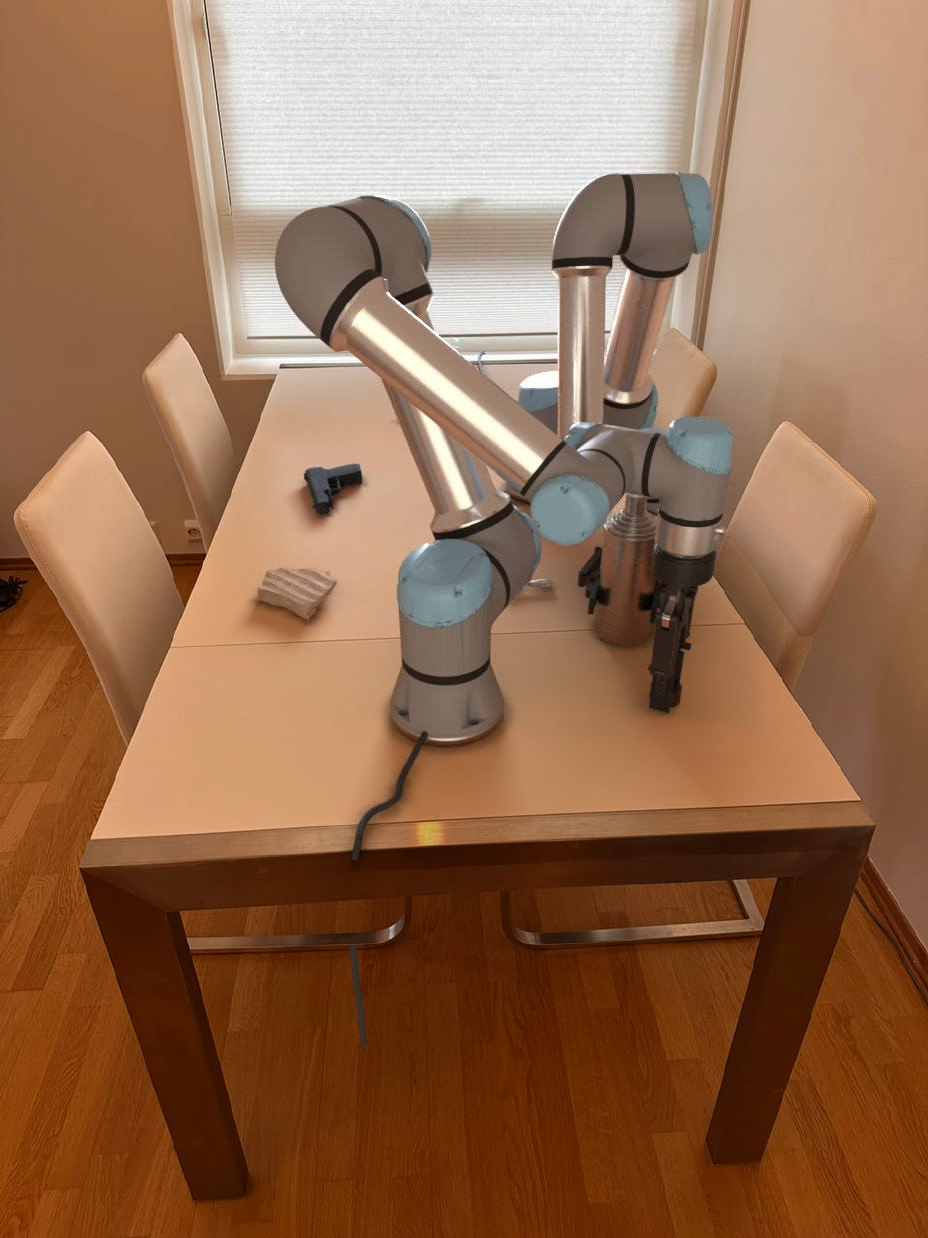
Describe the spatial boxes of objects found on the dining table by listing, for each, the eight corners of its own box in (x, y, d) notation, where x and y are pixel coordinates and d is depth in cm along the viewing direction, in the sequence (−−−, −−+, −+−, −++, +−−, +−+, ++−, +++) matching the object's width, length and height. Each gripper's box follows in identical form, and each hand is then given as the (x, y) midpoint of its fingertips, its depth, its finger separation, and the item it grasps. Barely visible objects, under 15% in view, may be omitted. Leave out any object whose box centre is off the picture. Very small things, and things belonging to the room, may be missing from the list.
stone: (346, 586, 150) (345, 572, 148) (309, 621, 140) (307, 607, 139) (280, 572, 154) (279, 559, 153) (240, 606, 145) (238, 592, 143)
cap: (685, 698, 121) (688, 684, 120) (670, 712, 118) (672, 698, 117) (659, 686, 123) (661, 672, 122) (643, 699, 121) (644, 686, 120)
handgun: (374, 509, 176) (313, 517, 173) (359, 474, 190) (302, 481, 188) (373, 494, 174) (311, 502, 172) (358, 460, 188) (301, 466, 186)
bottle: (592, 642, 135) (604, 502, 123) (598, 614, 142) (610, 479, 130) (647, 649, 134) (665, 508, 121) (651, 620, 141) (668, 484, 128)
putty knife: (553, 587, 149) (553, 578, 148) (506, 592, 148) (507, 584, 147) (551, 584, 150) (551, 575, 149) (505, 589, 149) (505, 581, 148)
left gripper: (700, 584, 101) (675, 744, 113) (730, 523, 114) (705, 672, 126) (635, 570, 103) (618, 728, 116) (672, 512, 117) (653, 660, 129)
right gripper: (702, 570, 149) (692, 642, 130) (576, 554, 154) (549, 621, 135) (708, 530, 145) (699, 598, 126) (579, 514, 150) (552, 578, 131)
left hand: (663, 699), depth 121 cm, fingers closed on cap, 4 cm apart
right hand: (621, 610), depth 131 cm, fingers closed on bottle, 8 cm apart
